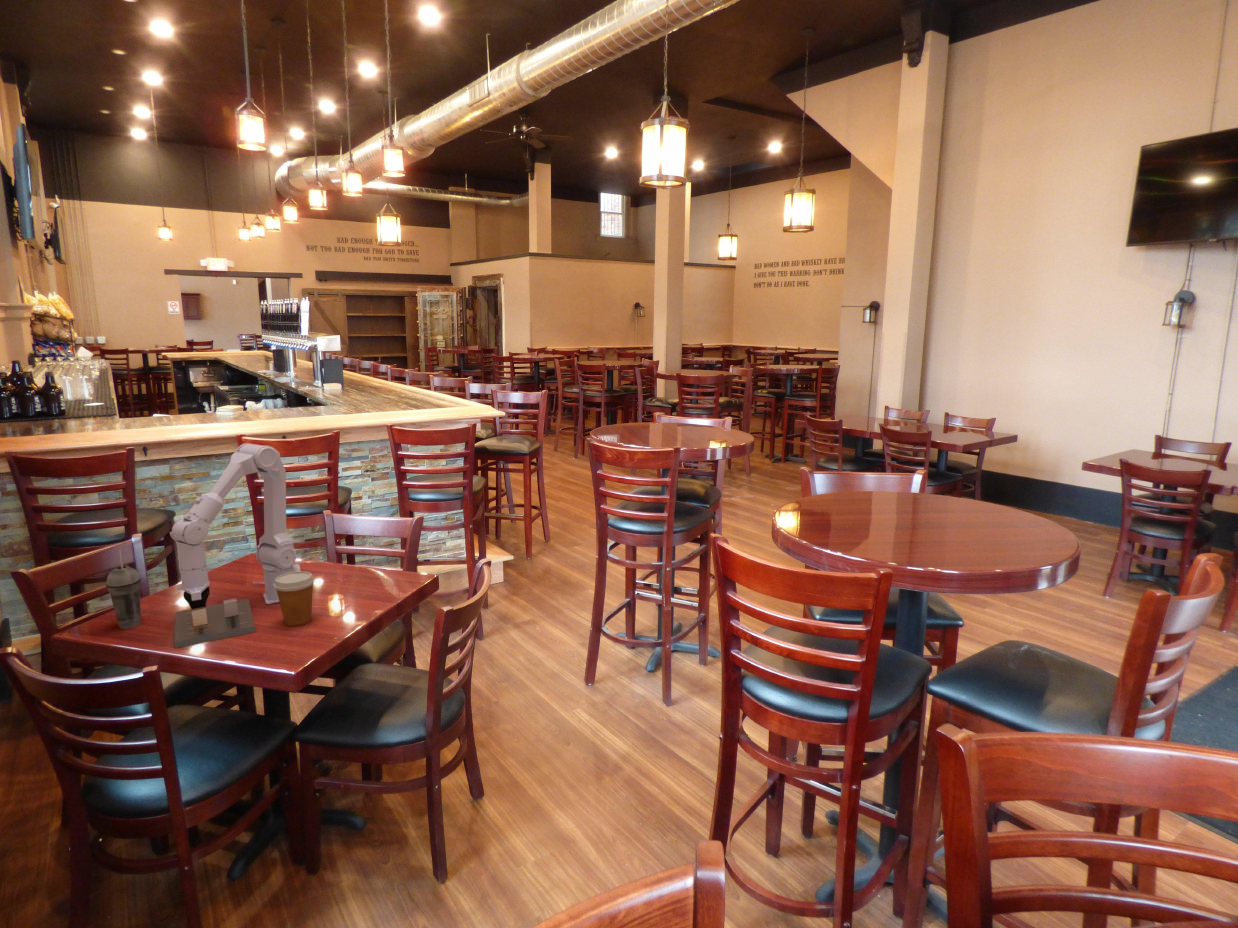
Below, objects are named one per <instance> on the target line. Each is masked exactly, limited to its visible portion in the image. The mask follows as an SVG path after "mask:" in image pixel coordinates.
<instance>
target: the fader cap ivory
mask: <svg viewBox="0 0 1238 928" xmlns="http://www.w3.org/2000/svg"><path fill="white" fill-rule="evenodd" d="M192 618H193V625H194V626H199V625H205V624H208V623H207V614H206V607H202V608H196V609H192Z"/></svg>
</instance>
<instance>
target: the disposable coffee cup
mask: <svg viewBox="0 0 1238 928" xmlns="http://www.w3.org/2000/svg"><path fill="white" fill-rule="evenodd" d="M315 579H316V578H314V576H313V574H312V573H311V572H309V571H303V570H302V571H298V572H290V573H286V574H283V575H280V576H278V577H277V578H276V579H275V583H274V587H275V589H276V590H277V594H278V598H279V602H278V603H279V605H280V609H281V613H282V617H283V621H284V624H285V625H286V626H288V627H297V626H302V625H305V624H307V623H309V622H311V621H312V611H313V589H314V588H313V587H314V582H315Z"/></svg>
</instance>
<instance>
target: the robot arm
mask: <svg viewBox="0 0 1238 928" xmlns="http://www.w3.org/2000/svg"><path fill="white" fill-rule="evenodd" d="M255 473H257V474H258V475H259V476H261V477H262V479H263V521H264V522H263V526H264V527H263V529H264V530H263V535H261V536H260V538H259V539H258V540H259V541H258V547H257V549H256V552H255V556H256V557H255V558H256V560H257V561H258V563H260V564H261V568H262V570H263V580H264V590H265V593H263V599H264V601H265V604H266V605H271V604H275V603H280V602H279V598H278V594H277V590H276V589H275V587H274V583H275V579H276V578H277V577H278V576H280V575H283V574H286V573H290V572H298V571H301V566H300V564H299V563H296V564H295V562H296V561H297V552H296V550H295V547H294V540H293V539H292V538H291V537H290V535H289V534H288V533H287V484H286V483H287V481H286V480H287V477H286V475H287V474H286V473H287V472H286V467H285V466H284V464H283V461H282V460H281V452H279V451H278V450H277V449H276V448H274V447H273V446H271V445H261V444H256V443H249V442H244V443H242V444H241V445H239V446H238V447H237V448H236V450H235V452H233V454H231V456H230V461H229V463H228V465H227V466H226V468H225V469H224V471H223V472H222V474H221V475H220V477H219V478H218V480H217V481H216V483H215V484H214V486H213V487H212V489H211V490H210V491H209V492H206V493H203V494H200V496H197V497H196V498H195V499H194V504H193V505H192V506H191V508H190V509H189V511H188V512H187V513H185V514H183V518H182V519H180V520H177V521H176V522H175V523H173V525H172V528H171V531H170V532H169V536H170V537H171V539H173V540H174V541H175V543H176V547H177V557H178V563H179V572H180V579H181V584H177V585H176V589H177V591H181V590H182V591H183V599H184V600H185V601H186V602H187V603H188V605H189V607H190V609H191V610H192V609H196V608H202V607H206V606H207V602H208V599H209V596H210V593H211V592H210V591H211V590H210V585H211V583H210V581H211V580H209V573H208V567H207V558H206V550H205V542H204V541H205V540H206V539H207V538H208V535H209V528H210V525H211V524H212V522H214V520H215V519H216V517H217V516H218V515H219V513H220V512H221V510H222V509H223V508H224V499H225V498H226V496H227V495H228V494H229V493H230V491H232V490H233V488H234V487H235V486H236V484H238V482H239V481H240V480H241V479H242V478H243V477H244V476H247V475H251V474H255Z"/></svg>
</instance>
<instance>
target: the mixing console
mask: <svg viewBox="0 0 1238 928" xmlns="http://www.w3.org/2000/svg"><path fill="white" fill-rule="evenodd" d="M237 606H238V614H239V615H236V616H231V617H226V618H225V611H224V603H217V604H212V605H206V614H207V623H208V624H205V625H199V626H194V625H193V618H192V610H191V608H190V609H182V610H178V611H175V612H174V613H175V615H174V649H179V648H182V647H183V646H184V647H188V646H193V645H198V644H203V643H206V642H213V641H217V640H223V639H227V638H232V637H237V636H242V635H247V634H253V633H256V626H255V622H254V617H253V613H252V612H253V611H252V608H251V605H250V601H249V598H243V599H239V600H237ZM178 647H179V648H178Z"/></svg>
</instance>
